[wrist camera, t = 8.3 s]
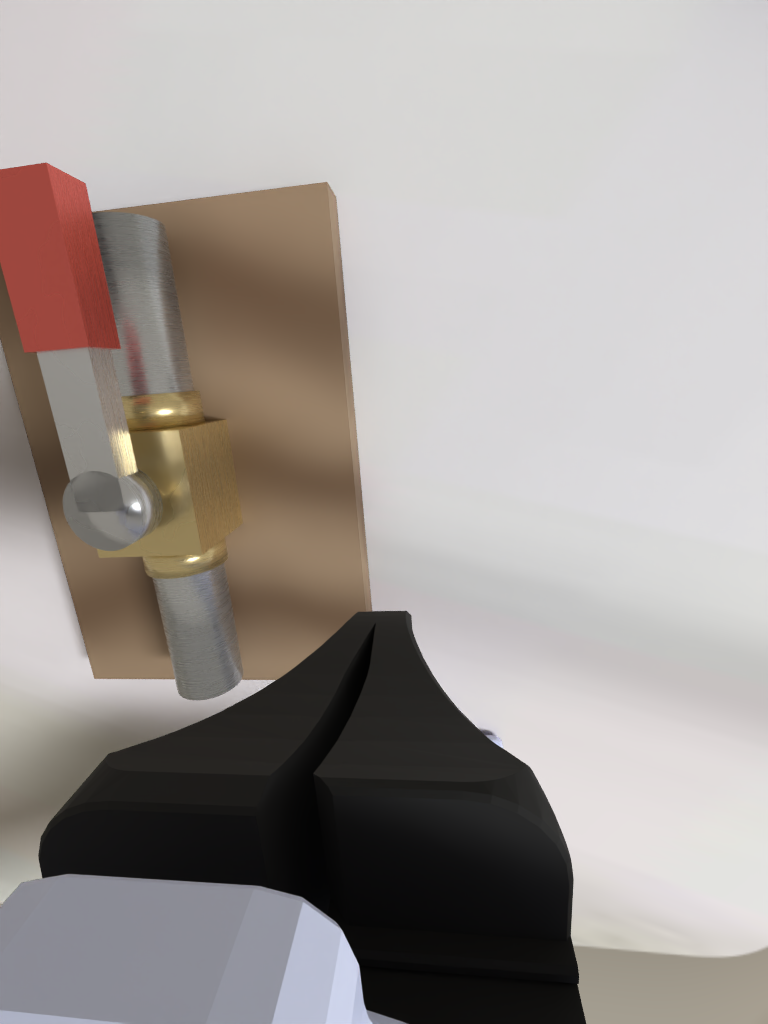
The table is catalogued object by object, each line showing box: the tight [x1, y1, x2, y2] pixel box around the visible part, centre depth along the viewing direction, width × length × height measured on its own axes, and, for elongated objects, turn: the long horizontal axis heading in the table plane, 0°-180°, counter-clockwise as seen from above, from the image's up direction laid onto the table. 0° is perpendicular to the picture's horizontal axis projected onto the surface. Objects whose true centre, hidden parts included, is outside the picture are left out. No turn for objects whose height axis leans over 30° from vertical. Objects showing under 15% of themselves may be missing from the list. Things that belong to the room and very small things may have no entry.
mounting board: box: [0, 182, 372, 680], centre depth 21 cm, size 20×14×2 cm
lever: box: [0, 163, 163, 551], centre depth 14 cm, size 10×3×2 cm, turn 4°
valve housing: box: [92, 212, 244, 700], centre depth 18 cm, size 18×4×4 cm, turn 4°
